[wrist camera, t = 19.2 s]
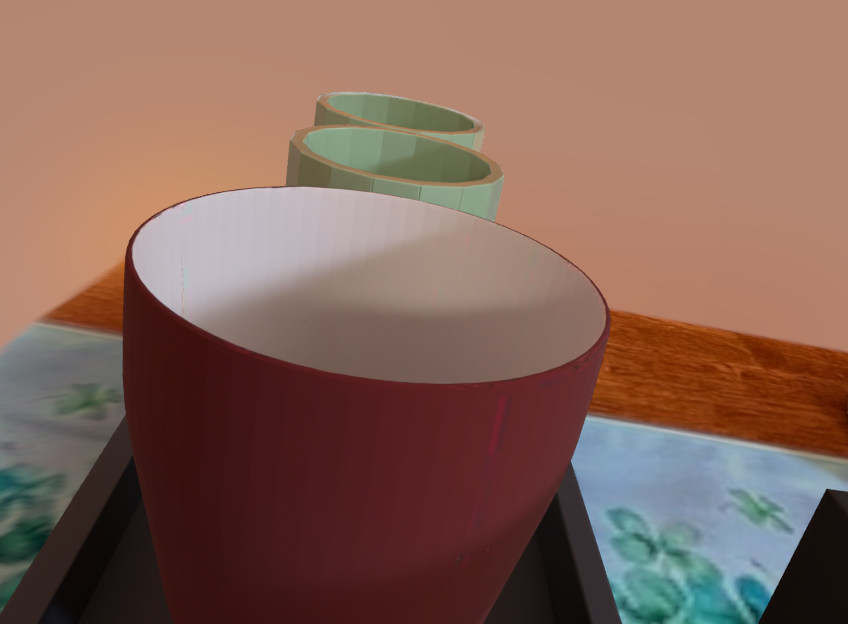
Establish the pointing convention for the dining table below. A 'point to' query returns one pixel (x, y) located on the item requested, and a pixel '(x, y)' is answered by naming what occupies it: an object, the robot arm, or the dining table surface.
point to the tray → (142, 586)
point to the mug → (348, 402)
